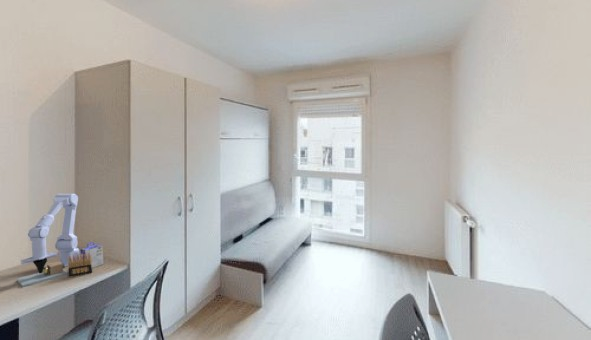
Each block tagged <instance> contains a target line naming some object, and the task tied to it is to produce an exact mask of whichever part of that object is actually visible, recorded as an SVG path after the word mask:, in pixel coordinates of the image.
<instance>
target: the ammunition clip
mask: <svg viewBox="0 0 591 340" xmlns="http://www.w3.org/2000/svg"><path fill="white" fill-rule="evenodd" d="M67 267H68V272H67V273H68V274H67V276H68V278H71V277H75V276H77V277H78V276H83V275H88V274H93V268H92V262H91V254H90V253H89V254H88V260H87V254H86V253H85V256H84V260H83V255H82V254H81V253H80V260H79V255H78V254H77V261H76V260H75V255H73V262H72V260H71V256H69V263H68V266H67Z"/></svg>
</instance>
